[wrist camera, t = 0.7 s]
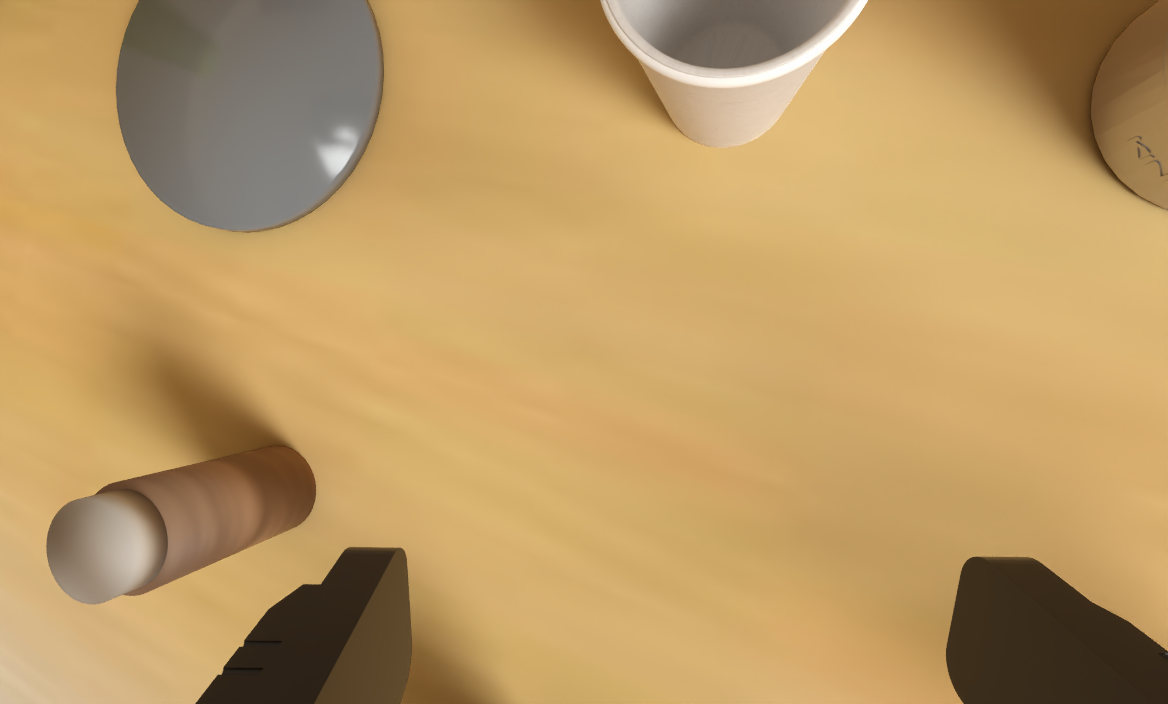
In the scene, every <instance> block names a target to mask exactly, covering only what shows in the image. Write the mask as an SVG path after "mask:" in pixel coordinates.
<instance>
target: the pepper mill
mask: <svg viewBox="0 0 1168 704" xmlns="http://www.w3.org/2000/svg"><path fill="white" fill-rule="evenodd" d="M315 497H316V484H315V479H314V475H313V473H312V470H311V468H310V466H309V465H308V463H307V462H306V460H305V459H304V458H303V457H302V456H301V455H300V454H299V453H297V452H296V451H294V450H292V449H290V448H288V447H284V446H270V447H265V448H261V449H257V450H252V451H248V452H244V453H240V454H235V455H231V456H227V457H222V458H218V459H214V460H209V461H205V462H201V463H196V464H192V465H188V466H184V467H179V468H175V469H171V470H166V471H162V472H158V473H153V474H149V475H145V476H141V477H136V478H132V479H128V480H123V481H119V482H115V483H112V484H109V485H107V486H105V487H103V488H102V489H101V490H99V491H98V492H97V493H96V494H95V495H93V496H89V497H85V498H81V499H77V500H74V501H71V502H69V503H67V504H66V505H65V506H63V507H62V508H61V509H60V510H59V511H58V513H57V514H56V515H55V517H54V519H53V520H52V523H51V525H50V528H49V531H48V536H47V558H48V563H49V567H50V569H51V572H52V574H53V576H54V578H55V580H56V582H57V583H58V585H59V586H60V587H61V589H62V590H63V591H64V592H65V593H66V594H67V595H69V596H70V597H71V598H73V599H75V600H76V601H79V602H81V603H85V604H100V603H104V602H106V601H109V600H111V599H113V598H116V597H118V596H120V595H128V596H135V595H141V594H144V593H147V592H149V591H151V590H153V589H156V588H158V587H160V586H163V585H165V584H167V583H169V582H172V581H174V580H176V579H178V578H181V577H183V576H185V575H188V574H190V573H192V572H194V571H197V570H199V569H201V568H203V567H206V566H208V565H210V564H213V563H215V562H217V561H219V560H222V559H224V558H226V557H228V556H231V555H233V554H235V553H238V552H240V551H242V550H244V549H247V548H249V547H251V546H253V545H256V544H258V543H260V542H263V541H265V540H267V539H269V538H272V537H274V536H276V535H278V534H281V533H283V532H285V531H288V530H290V529H292V528H294V527H296V526H298V525H300V524H301V523H302V522H303V521H304V520H305V519H306V518H307V517H308V515H309V514H310V512H311V510H312V508H313V505H314V502H315Z"/></svg>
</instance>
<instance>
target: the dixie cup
mask: <svg viewBox="0 0 1168 704" xmlns="http://www.w3.org/2000/svg"><path fill="white" fill-rule="evenodd" d="M867 1H868V0H600V2H601V5H602V8H603V10H604V13H605V15H606V17H607V20H608V22H609V23H610V25H611V27H612V29H613V30H614V32H615V34H616V35H617V37H618V38H619V39H620V41H621V42H622V43H623V44H624V46H625V47H626V48H627V49H628V50H629V51H630V52H631V53H632V54H633V55H634V56H635V57H636V58H637V59H638V61H639V62H640V64H641V66H642V68H643V69H644V71H645V73H646V75H647V77H648V78H649V80H650V82H651V84H652V85H653V87H654V89H655V91H656V92H657V94H658V96H659V98H660V100H661V101H662V103H663V105H664V107H665V108H666V110H667V112H668V114H669V116H670V117H671V119H672V121H673V122H674V124H675V125H676V127H677V128H678V129H679V130H680V131H681V132H682V133H683V134H684V135H686V136H687V137H688V138H690V139H691V140H693V141H695V142H697V143H699V144H702V145H705V146H709V147H716V148H729V147H735V146H740V145H743V144H746V143H748V142H751V141H753V140H755V139H756V138H758V137H760V136H761V135H763V134H764V133H765V132H767V131H768V130H769V129H770V128H771V127H772V126H773V125H774V124H775V123H776V122H777V120H778V119H779V118H780V116H781V115H782V113H783V112H784V110H785V109H786V107H787V106H788V104H789V103H790V101H791V100H792V99H793V97H794V96H795V94H796V93H797V91H798V90H799V88H800V87H801V85H802V84H803V82H804V81H805V80H806V78H807V77H808V75H809V74H810V72H811V71H812V69H813V68H814V66H815V65H816V63H817V62H818V61H819V59H820V58H821V56H822V55H823V53H824V52H825V50H826V49H827V48H828V47H829V46H831V45H832V44H833V43H834V42H835V41H836V40H837V39H838V38H839V37H840V36H841V35H842V34H843V33H844V32H845V31H846V30H847V29H848V28H849V26H850V25H851V24H852V23H853V22H854V20H855V19H856V18H857V16H858V15H859V14H860V12H861V11H862V9H863V8H864V6H865V5H866V3H867Z"/></svg>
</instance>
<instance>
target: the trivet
mask: <svg viewBox="0 0 1168 704" xmlns="http://www.w3.org/2000/svg"><path fill="white" fill-rule="evenodd" d="M383 79H384V65H383V50H382V44H381V38H380V33H379V29H378V26H377V22H376V19H375V16H374V13H373V11H372V9H371V6H370V4H369V2H368V0H139V2H138V4H137V6H136V8H135V10H134V12H133V14H132V16H131V19H130V21H129V24H128V26H127V29H126V32H125V35H124V39H123V43H122V46H121V50H120V56H119V62H118V68H117V82H116V97H117V110H118V117H119V124H120V128H121V132H122V135H123V139H124V143H125V145H126V148H127V150H128V153H129V155H130V158H131V160H132V162H133V164H134V166H135V167H136V169H137V171H138V173H139V175H140V176H141V177H142V179H143V180H144V182H145V183H146V184H147V186H148V187H149V188H150V190H151V191H152V192H153V193H154V194H155V195H156V196H157V197H158V198H159V199H160V200H161V201H162V202H163V203H165V204H166V205H167V206H168V207H170V208H171V209H172V210H174V211H175V212H177V213H178V214H180V215H182V216H184V217H185V218H187V219H189V220H192V221H194V222H197V223H199V224H202V225H205V226H209V227H214V228H218V229H223V230H227V231H232V232H259V231H266V230H270V229H274V228H279V227H282V226H284V225H287V224H289V223H292V222H294V221H297V220H299V219H300V218H302V217H304V216H306V215H307V214H309V213H311V212H312V211H314V210H315V209H316V208H318V207H319V206H320V205H322V204H323V203H324V202H325V201H327V200H328V199H329V198H330V197H331V196H332V195H333V194H334V193H335V192H336V191H337V190H338V189H339V188H340V187H341V186H342V185H343V183H344V182H345V181H346V179H347V178H348V177H349V175H350V174H351V173H352V172H353V170H354V169H355V167H356V165H357V164H358V162H359V160H360V159H361V157H362V155H363V154H364V151H365V149H366V147H367V145H368V143H369V140H370V138H371V136H372V133H373V130H374V127H375V124H376V121H377V117H378V114H379V109H380V104H381V99H382V91H383Z"/></svg>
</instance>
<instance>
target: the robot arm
mask: <svg viewBox="0 0 1168 704" xmlns="http://www.w3.org/2000/svg"><path fill="white" fill-rule="evenodd" d="M1091 119H1092V125H1093V131H1094V137H1095V140H1096V142H1097V144H1098V146H1099V149H1100V151H1101V153H1102V156H1103V158H1104V160H1105V161H1106V163H1107V164H1108V165H1109V167H1110V168H1111V169H1112V170H1113V172H1114V173H1115V174H1116V176H1117V177H1118V178H1119V180H1121V181H1122V182H1123V183H1124V184H1126V185H1127V186H1128V187H1129V188H1130V189H1132V190H1133V191H1134V192H1135V193H1136V194H1138V195H1139V196H1140V197H1142V198H1144V199H1146V200H1148V201H1150V202H1152V203H1154V204H1156V205H1158V206H1160V207H1162V208H1164V209H1167V210H1168V0H1159V1H1158V2H1157V3H1155V4H1154V5H1153V6H1152V7H1150V8H1149V9H1148V10H1146V11H1145V12H1144V13H1143V14H1141V15H1140V16H1139V17H1137V18H1136V19H1135V20H1134V21H1132V22H1131V24H1130V25H1129V26H1128V27H1127V28H1126V29H1125V30H1124V31H1123V33H1122V34H1121V35H1120V36H1119V37H1118V38H1117V39H1116V40H1115V41H1114V43H1113V45H1112V46H1111V48H1110V50H1109V51H1108V53H1107V55H1106V56H1105V58H1104V60H1103V62H1102V63H1101V65H1100V68H1099V71H1098V74H1097V77H1096V80H1095V84H1094V87H1093V91H1092V103H1091ZM411 652H412V635H411V619H410V602H409V586H408V569H407V559H406V554H405V551H404V550H403V549H402V548H372V547H349V548H347V549H346V550H345V551H344V552H343V553H342V554H341V556H340V557H339V559H338V560H337V562H336V563H335V565H334V566H333V568H332V569H331V570H330V572H329V573H328V575H327V576H326V578H325V579H324V581H323V582H322V584H321V585H312V584H303V585H302V586H300V587H299V588H298V589H296V590H295V591H293V592H292V593H291V594H289V595H288V596H287V597H285V598H284V599H282V600H281V601H280V602H278V603H277V604H275V605H274V606H273V607H271V608H270V609H268V611H267V612H266V613H265V615H264V616H263V617H262V618H261V620H260V621H259V622H258V624H257V625H256V626H255V627H254V629H253V630H252V631H251V633H250V634H249V635H248V637H247V638H246V639H245V640H244V646H243V647H239V648H238V649H237V651H236V652H235V653H234V655H233V656H232V657H231V658H230V660H229V661H228V662H227V664H226V665H225V666H224V668H223V673H222V675H217V677H216V678H215V679H214V680H213V682H212V683H211V684H210V686H209V687H208V688H207V689H206V691H205V692H204V693H203V695H202V696H201V697H200V698H199V700H198V701H197V702H196V704H400V702H401V699H402V697H403V694H404V691H405V688H406V684H407V680H408V675H409V670H410V663H411ZM946 661H947V667H948V672H949V676H950V679H951V681H952V684H953V686H954V689H955V691H956V692H957V694H958V696H959V697H960V699H961V700H962V702H963V703H964V704H1168V651H1167V650H1165V649H1164V648H1163V647H1161V646H1160V645H1159V644H1157V643H1156V642H1155V641H1153V640H1152V639H1151V638H1149V637H1148V636H1147V635H1145V634H1144V633H1143V632H1141V631H1140V630H1139V629H1138V628H1136V627H1135V626H1134V625H1132V624H1131V623H1130V622H1128V621H1126V620H1124V619H1123V618H1121V617H1119V616H1117V615H1115V614H1113V613H1111V612H1109V611H1107V610H1106V609H1104V608H1102V607H1100V606H1098V605H1096V604H1094V603H1092V602H1091V601H1089V600H1088V599H1087V598H1086V597H1084V596H1083V595H1082V594H1080V593H1079V592H1078V591H1077V590H1075V589H1074V588H1073V587H1071V586H1070V585H1069V584H1068V583H1066V582H1065V581H1064V580H1062V579H1061V578H1060V577H1059V576H1057V575H1056V574H1055V573H1053V572H1052V571H1051V570H1049V569H1048V568H1047V567H1046V566H1044V565H1043V564H1042V563H1040V562H1039V561H1037V560H1035V559H1032V558H1028V557H972V558H970V559H969V560H967V561H966V563H965V564H964V566H963V568H962V571H961V575H960V580H959V585H958V590H957V596H956V601H955V606H954V611H953V616H952V621H951V627H950V632H949V637H948V642H947V648H946Z"/></svg>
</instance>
